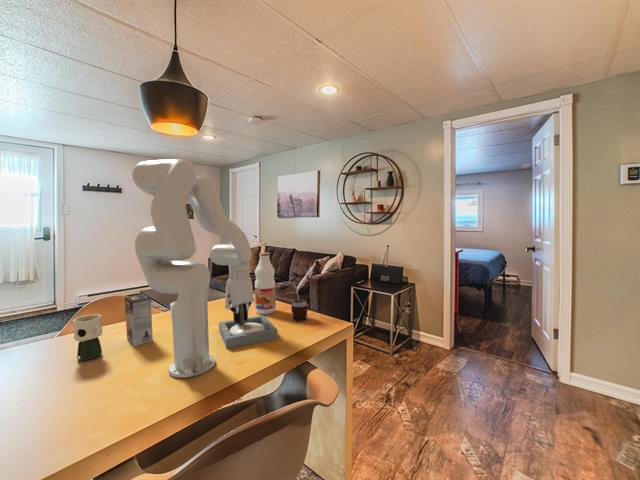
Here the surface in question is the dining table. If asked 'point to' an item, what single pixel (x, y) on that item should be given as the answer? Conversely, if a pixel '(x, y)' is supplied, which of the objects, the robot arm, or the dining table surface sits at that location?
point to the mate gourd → (299, 308)
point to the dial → (245, 325)
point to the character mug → (88, 335)
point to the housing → (250, 337)
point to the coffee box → (138, 319)
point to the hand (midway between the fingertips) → (240, 320)
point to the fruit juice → (265, 286)
